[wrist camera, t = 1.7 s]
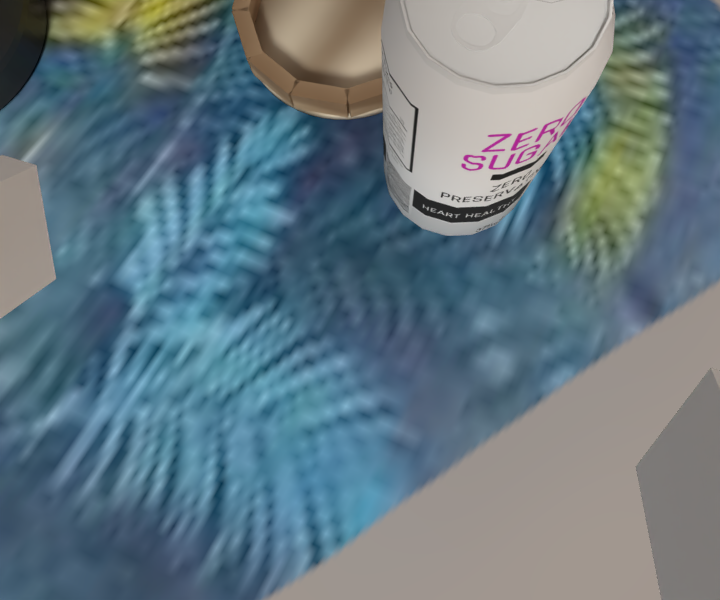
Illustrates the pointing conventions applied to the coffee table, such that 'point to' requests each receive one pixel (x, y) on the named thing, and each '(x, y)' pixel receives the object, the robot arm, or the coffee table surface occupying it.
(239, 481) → the coffee table surface
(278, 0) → the ring coaster
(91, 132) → the coffee table surface
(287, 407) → the coffee table surface
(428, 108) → the supplement can
